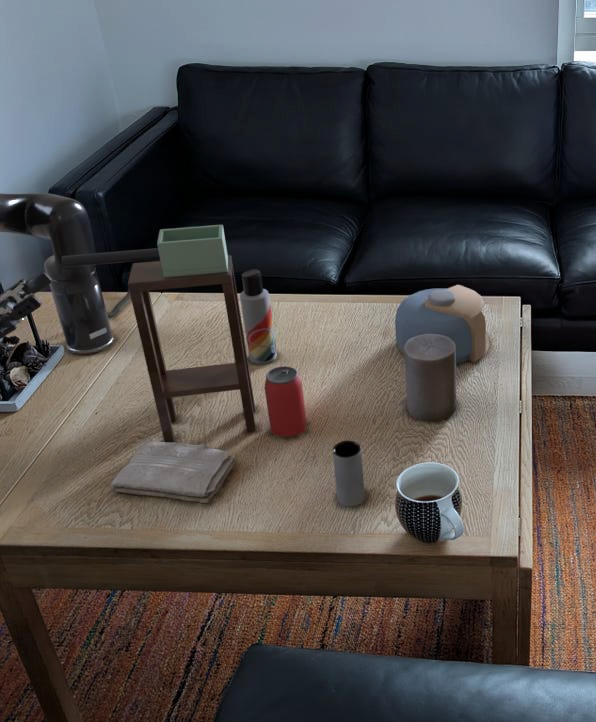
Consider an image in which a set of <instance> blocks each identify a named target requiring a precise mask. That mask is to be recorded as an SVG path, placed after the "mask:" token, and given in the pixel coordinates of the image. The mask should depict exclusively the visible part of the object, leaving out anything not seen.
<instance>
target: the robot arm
mask: <svg viewBox="0 0 596 722" xmlns="http://www.w3.org/2000/svg"><path fill="white" fill-rule="evenodd" d="M90 220H91V219H90V215H89V214H88V211H87V209H86V208H85V206H84V205H83V204H82V203H81V202H79V201H78V200H77V199H74V198H70V197H66V196H63V195H58V194H54V193H49V192H34V193H33V192H31V193H3V192H2V193H1V192H0V233H8V234H9V233H10V234H11V233H12V234H18V235H25V236H30V237H33V238H37V239H41V240H45V241H48V242H50V244H51V246H52V251H53V255H51V256H49V257H48V258H47V259H45V260H44V265H43V266H44V271H40V272H38V273H37V274H35V275H34V276H32V277H31V278H30V279H28V280H26V279H25V278H22V279H19V280H18V281H17V282H16V283H15V284H13V285H12V286H10V287H9V288H7V289H6V290H4V291H3V292H2V293H0V346H1V345H2V344H3V342H4V338H5V337H6V336H8V335H9V334H11V333H12V332H14V331H16V330H17V328H18V327H19V326H18V324H21V323H22V322H23V320H24V319H25V318H26V317H27V316H29V315H30V314H32V313H34V312H35V311H36V310H38V309H39V308H40V307H41V306H42V304H43V303H42V301H41V300H40V299H39V298H38V297H37V296H35V295H36V294H37V293H39V292H40V291H41V290H43V289H44V288H46V287H47V286H49V288H50V291H51V296H52V298H53V301H54V305H55V308H56V312H57V315H58V319H59V323H60V326H61V330H62V333H63V337H64V340H65V346H66V349H67V351H68V352H70V353H71V354H76V355H91V354H96V353H99V352H102V351H104V350H106V349H108V348H109V347H111V346H112V345H113V343H114V342H115V338H114V334H113V332H112V328H111V323H110V320H109V318H112V317H114V316H115V315H116V314H117V313H118V311H119V310H120V308H121V307H123V305H124V304H125V303H126V302H128V300H129V299H131V296H130V291H129V288H128V290H127V293H126V294H125V296H124V297H122V299H121V300H120V301H119V302H118V303H117V304H116V305H115V306H114V307H113V309H112V310H111V311H110V312H108V311H107V310H108V309H107V307H106V304H105V300H104V296H103V292H102V287H101V283H100V280H99V276H98V273H97V268H96V265H87V266H76V267H64V266H63V264H62V256H71V255H83V254H95V253H96V246H95V240H94V235H93V230H92V229H93V228H92V226H91V221H90ZM21 290H22V291H23V292H22V293H20V291H21Z"/></svg>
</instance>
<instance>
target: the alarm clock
mask: <svg viewBox="0 0 596 722" xmlns="http://www.w3.org/2000/svg"><path fill="white" fill-rule="evenodd" d="M484 307H485V301H484V299H483V297H482V296H481V294H479V293H478V292H477V291H475V290H473V289H471V288H468V287H467V286H466V287H465V286H464V285H461V284H456V285H453V286H450V287H448V288H446V287H445V288H443V287H441V288H429V289H427V288H426V289H423V290H419V291H416V292H415V293H412V294H410V295H408V296H407V297H405V298H404V299H403V300H402V301H401V303H400V304H399V305H398V307H397V309H396V311H395V312H396V313H395V319H394V324H395V325H394V329H395V342H396V345H397V346H398V348H400V349H401V351H402V353H403V354H404V345H405V344H406V342H407V341H408V340H409V339H411V338H413V337H416V336H419V335H424V334H438V335H443V336H446V337H448V338H450V339H451V340H452V341H453V342H454V343H455V346H456V364H459V363H463V362H465V361H468V360H469V361H470V362H473V363H476V362H477V361H479V360H480V359H482V358H483V357H484V356H486V354H487V352H488V350H489V346H490V345H489V344H490V343H489V341H490V340H489V333H488V332H487V322H486V317H485V315H484V313H483V312H482V310H483V309H484Z"/></svg>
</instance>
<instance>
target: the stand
mask: <svg viewBox="0 0 596 722" xmlns="http://www.w3.org/2000/svg"><path fill="white" fill-rule="evenodd" d="M215 285H221V286H222V290H223V297H224V303H225V309H226V315H227V321H228V326H229V332H230V333H229V334H230V339H231V346H232V351H233V357H234V362H230V363H221V364H212V365H203V366H194V367H186V368H185V367H183V368H177V369H176V368H175V369H168V370H167V366H166V361H165V358H164V353H163V349H162V344H161V339H160V334H159V330H158V325H157V321H156V315H155V312H154V307H153V303H152V298H151V293H150V291H161V290H171V289H172V290H173V289H182V288H183V289H184V288H194V287H203V286H205V287H206V286H215ZM127 287H128V289H129V291H130V299H131V303H132V308H133V312H134V317H135V322H136V326H137V331H138V334H139V338H140V342H141V347H142V351H143V357H144V359H145V365H146V368H147V373H148V377H149V382H150V385H151V390H152V395H153V399H154V402H155V403H154V404H155V407H156V411H157V417H158V420H159V424H160V428H161V433H162V437H163V438H162V439H163V442H169V443H175V439H176V438H175V432H174V427H173V424H172V423H177V418H178V417H177V411H176V408H175V403H174V399H173V398H180V397H188V396H194V395H195V396H198V395H205V394H213V393H223V392H230V391H231V392H232V391H239V393H240V398H241V405H242V411H243V417H244V423H245V429H246V433H254V432H256V431H257V426H256V420H255V419H256V418H255V413H256V404H255V398H254V391H253V385H252V379H251V378H252V377H251V372H250V365H249V359H248V355H247V346H246V341H245V333H244V328H243V327H244V326H243V322H242V315H241V309H240V301H239V297H238V295H239V294H238V291H237V290H238V289H237V284H236V277H235V269H234V264H233V257H232V255H231V254H228V272H222V273H211V274H200V275H189V276H178V277H167V278H164V275H163V270H162V265H161V260H153V261H142V262H133V263H132V265H131V269H130V274H129V277H128V282H127Z"/></svg>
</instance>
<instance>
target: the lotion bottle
mask: <svg viewBox="0 0 596 722" xmlns="http://www.w3.org/2000/svg"><path fill="white" fill-rule="evenodd" d="M241 280H242V286H243V287H242V288H243V290H242V291H241V292H240V294H239V298H240V301H239V302H240V306H241V313H242V319H243V325H244V326H243V327H244V332H245V333H244V334H245V339H246V345H247V346H246V347H247V352H248V357H249V361H251V363H254V364H257V365H265V364H270V363H271V362H274V361H275V360H276V358H277V356H278V354H277V345H276V338H275V329H274V322H273V321H274V320H273V314H272V307H271V301H270V300H271V299H270V293H269V291H268V290H267V289H265V288H264V284H263V277H262V272H261V271H260V270H259V269H256V268H252V269H248V270H246V271H244V272H243V273H242V274H241Z"/></svg>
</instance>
